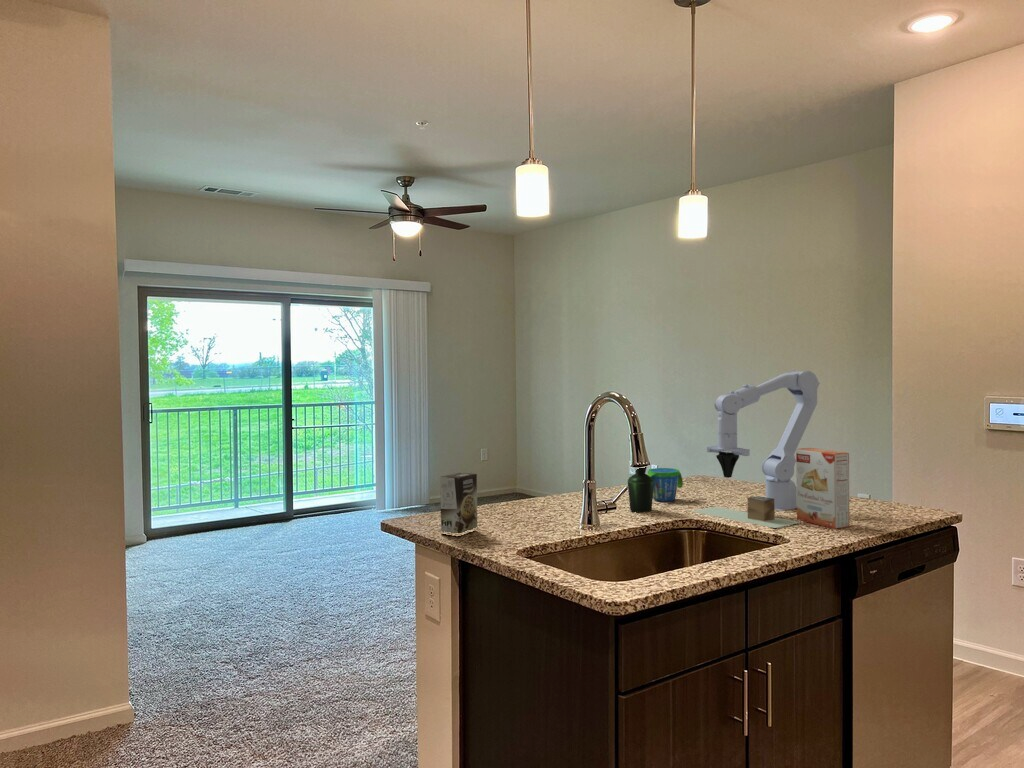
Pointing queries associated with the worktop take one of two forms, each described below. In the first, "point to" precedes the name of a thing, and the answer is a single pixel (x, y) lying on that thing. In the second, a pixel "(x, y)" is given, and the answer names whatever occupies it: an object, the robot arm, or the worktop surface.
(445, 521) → the coffee box
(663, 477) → the snack cup
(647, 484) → the potion bottle
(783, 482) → the robot arm
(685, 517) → the worktop surface
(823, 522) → the cracker box
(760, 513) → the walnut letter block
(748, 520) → the pale green mat
